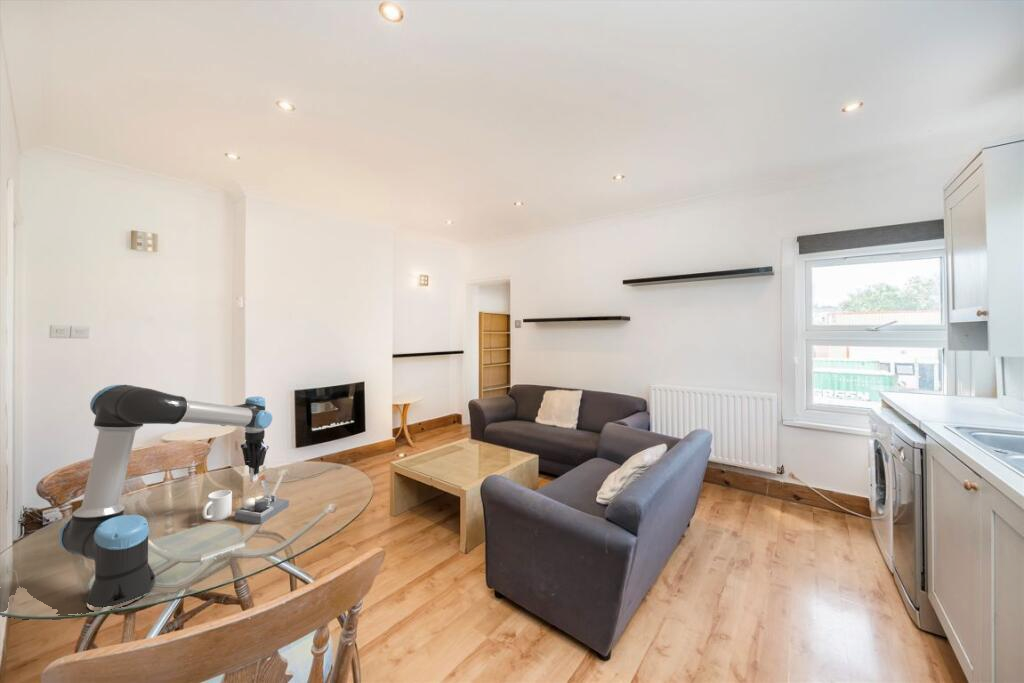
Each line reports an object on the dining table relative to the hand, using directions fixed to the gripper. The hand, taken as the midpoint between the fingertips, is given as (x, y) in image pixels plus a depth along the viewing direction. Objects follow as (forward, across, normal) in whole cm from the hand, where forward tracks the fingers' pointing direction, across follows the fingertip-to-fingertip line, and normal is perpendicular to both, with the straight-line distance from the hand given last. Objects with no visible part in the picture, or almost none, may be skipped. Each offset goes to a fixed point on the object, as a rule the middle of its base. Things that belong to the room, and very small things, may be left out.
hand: (253, 480), depth 175 cm
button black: (+9, -11, +8) cm, 16 cm away
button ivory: (+8, -5, +8) cm, 12 cm away
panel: (+12, -8, +4) cm, 15 cm away
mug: (+13, +6, +13) cm, 19 cm away
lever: (+8, -9, 0) cm, 12 cm away
